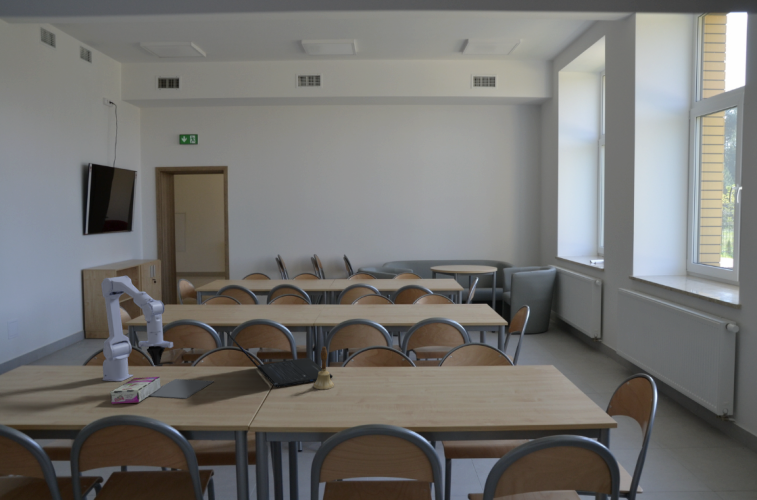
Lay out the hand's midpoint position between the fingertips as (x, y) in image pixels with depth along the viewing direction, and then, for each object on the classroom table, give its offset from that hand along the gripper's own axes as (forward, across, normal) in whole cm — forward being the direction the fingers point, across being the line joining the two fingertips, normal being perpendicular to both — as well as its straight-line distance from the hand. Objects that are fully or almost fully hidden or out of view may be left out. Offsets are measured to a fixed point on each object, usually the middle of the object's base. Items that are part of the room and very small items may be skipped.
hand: (157, 364), depth 216 cm
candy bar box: (+7, -3, -2) cm, 8 cm away
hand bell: (+10, +66, +12) cm, 68 cm away
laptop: (+10, +42, +22) cm, 49 cm away
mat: (+10, +10, 0) cm, 14 cm away
